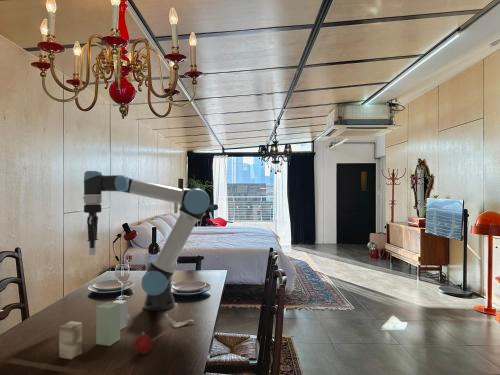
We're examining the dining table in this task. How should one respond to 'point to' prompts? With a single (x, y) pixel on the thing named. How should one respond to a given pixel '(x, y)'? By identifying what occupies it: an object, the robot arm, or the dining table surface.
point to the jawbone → (176, 324)
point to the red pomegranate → (143, 343)
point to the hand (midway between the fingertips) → (92, 254)
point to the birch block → (70, 340)
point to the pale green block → (107, 323)
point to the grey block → (122, 313)
